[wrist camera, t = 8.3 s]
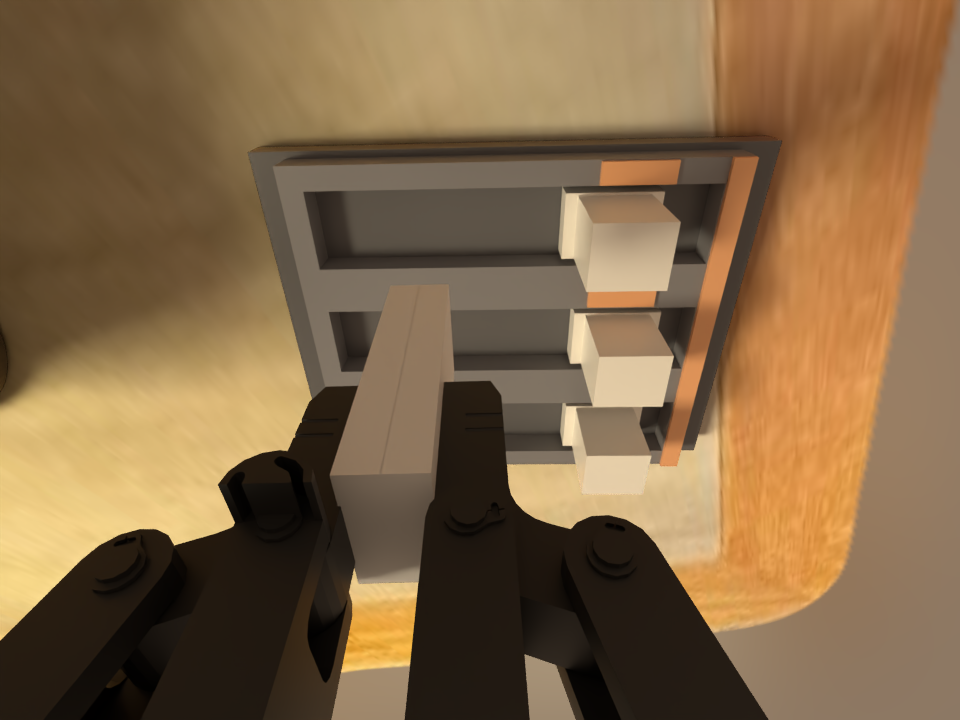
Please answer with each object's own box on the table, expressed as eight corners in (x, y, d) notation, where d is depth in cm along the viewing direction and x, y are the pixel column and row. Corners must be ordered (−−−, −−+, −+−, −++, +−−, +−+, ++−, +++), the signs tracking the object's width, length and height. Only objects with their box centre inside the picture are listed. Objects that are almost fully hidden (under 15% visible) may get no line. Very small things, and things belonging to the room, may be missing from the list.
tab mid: (567, 350, 26) (581, 409, 22) (570, 302, 24) (587, 354, 20) (644, 350, 26) (673, 408, 22) (653, 300, 24) (686, 353, 20)
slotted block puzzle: (331, 438, 31) (318, 471, 29) (258, 147, 22) (231, 160, 19) (686, 436, 30) (703, 469, 28) (768, 135, 21) (802, 148, 19)
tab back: (560, 431, 29) (571, 495, 25) (563, 392, 27) (576, 454, 23) (629, 431, 29) (652, 495, 25) (637, 392, 27) (662, 454, 23)
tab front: (558, 248, 23) (572, 294, 19) (562, 186, 21) (579, 220, 17) (646, 247, 23) (680, 293, 19) (657, 184, 21) (696, 218, 17)
